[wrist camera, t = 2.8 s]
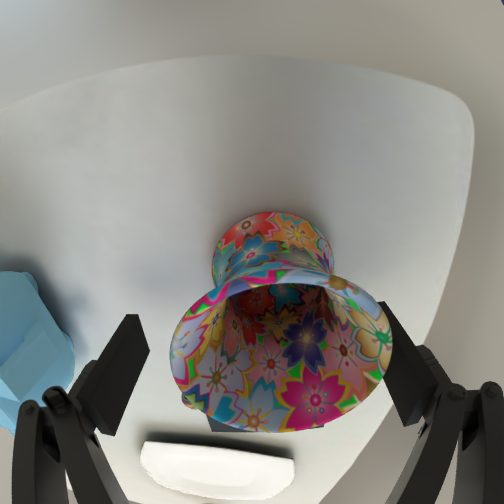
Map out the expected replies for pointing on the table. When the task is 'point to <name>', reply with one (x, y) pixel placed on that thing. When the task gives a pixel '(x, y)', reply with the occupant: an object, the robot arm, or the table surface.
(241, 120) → the table surface
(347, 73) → the table surface
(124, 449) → the table surface
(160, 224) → the table surface
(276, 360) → the mug
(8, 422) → the teapot
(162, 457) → the plate
